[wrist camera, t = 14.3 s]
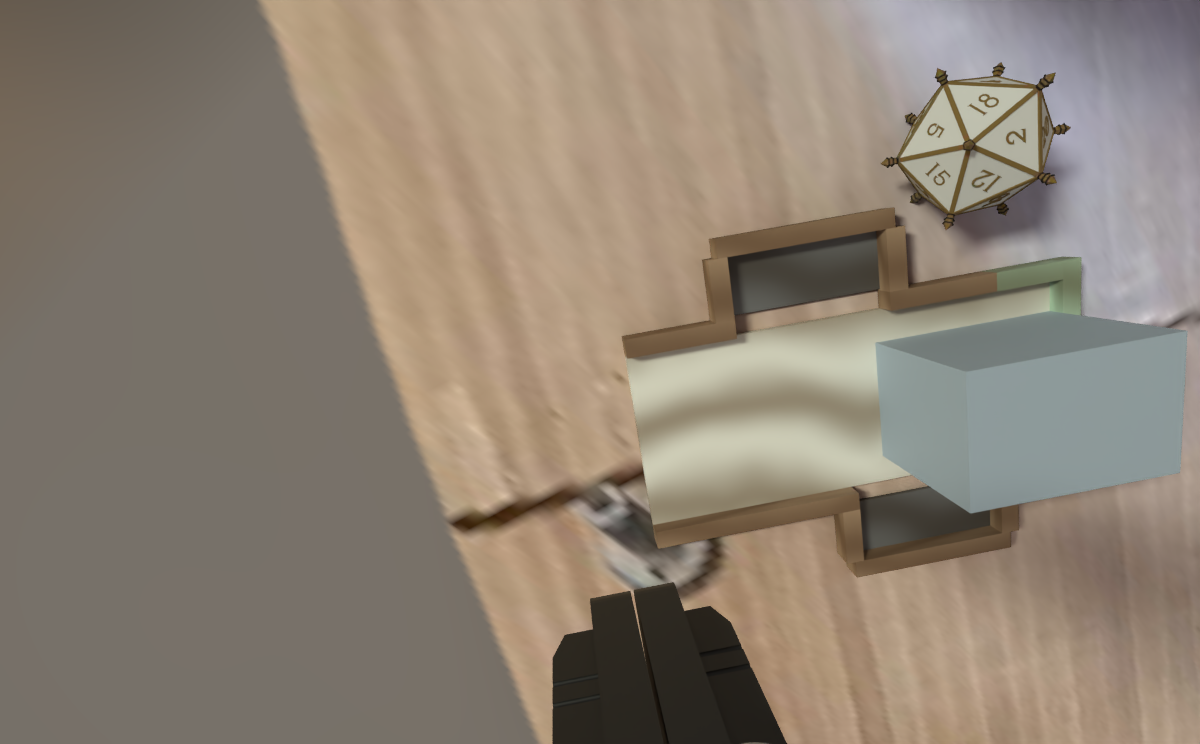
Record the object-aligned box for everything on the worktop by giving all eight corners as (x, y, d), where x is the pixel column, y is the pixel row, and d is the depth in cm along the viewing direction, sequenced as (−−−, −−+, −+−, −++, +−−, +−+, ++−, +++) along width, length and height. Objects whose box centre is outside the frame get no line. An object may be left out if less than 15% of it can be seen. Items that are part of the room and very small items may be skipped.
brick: (875, 342, 40) (965, 371, 31) (1049, 310, 40) (1187, 330, 32) (882, 455, 42) (970, 513, 33) (1049, 424, 42) (1180, 472, 33)
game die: (899, 131, 41) (1029, -8, 32) (990, 222, 40) (1152, 103, 31) (824, 181, 37) (949, 38, 28) (922, 284, 36) (1086, 167, 27)
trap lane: (608, 256, 38) (611, 257, 36) (1062, 176, 39) (1082, 174, 37) (665, 602, 43) (669, 614, 42) (1061, 523, 44) (1078, 533, 43)
